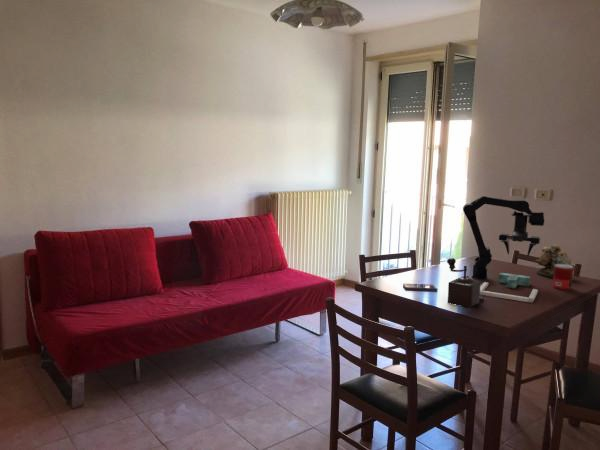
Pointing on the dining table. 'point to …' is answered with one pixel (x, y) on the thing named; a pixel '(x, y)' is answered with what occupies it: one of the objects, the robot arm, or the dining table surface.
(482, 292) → the outline
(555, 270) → the red tapered cylinder
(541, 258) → the khaki lumpy piece
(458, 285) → the manual coffee grinder
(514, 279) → the T block
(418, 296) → the dining table surface
